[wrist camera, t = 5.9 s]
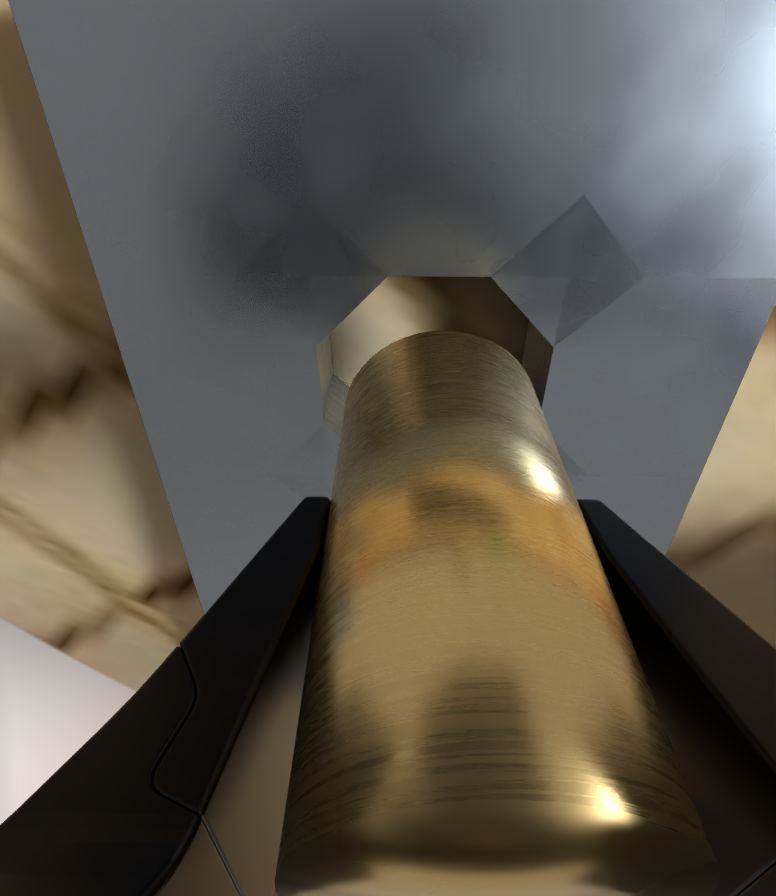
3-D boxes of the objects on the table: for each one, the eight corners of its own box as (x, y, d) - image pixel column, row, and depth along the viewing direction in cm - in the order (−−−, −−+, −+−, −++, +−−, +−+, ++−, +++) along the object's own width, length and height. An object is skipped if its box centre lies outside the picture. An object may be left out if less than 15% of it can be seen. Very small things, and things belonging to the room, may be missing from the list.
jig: (812, 4, 10) (940, -7, 8) (576, 663, 24) (597, 736, 21) (80, 3, 11) (-16, -6, 8) (250, 659, 24) (232, 731, 21)
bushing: (552, 331, 10) (803, 811, 4) (521, 492, 13) (646, 955, 6) (339, 329, 10) (242, 800, 4) (348, 490, 13) (297, 946, 6)
